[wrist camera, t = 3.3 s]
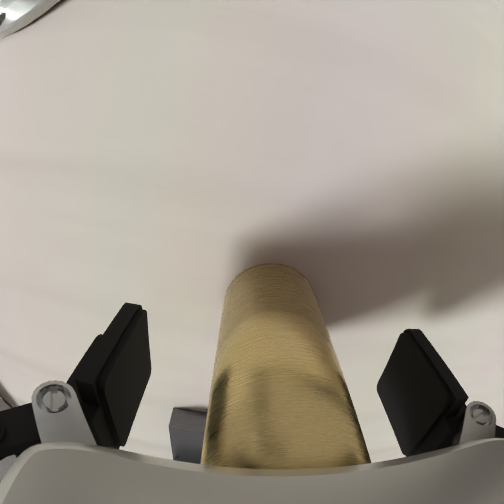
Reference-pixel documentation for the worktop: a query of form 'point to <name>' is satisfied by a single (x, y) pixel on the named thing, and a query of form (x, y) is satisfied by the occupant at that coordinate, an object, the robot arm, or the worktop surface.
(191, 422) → the grey socket block
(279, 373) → the pin
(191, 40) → the worktop surface
